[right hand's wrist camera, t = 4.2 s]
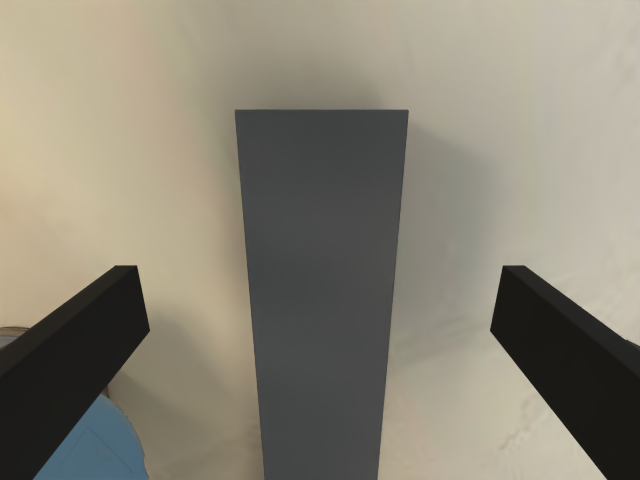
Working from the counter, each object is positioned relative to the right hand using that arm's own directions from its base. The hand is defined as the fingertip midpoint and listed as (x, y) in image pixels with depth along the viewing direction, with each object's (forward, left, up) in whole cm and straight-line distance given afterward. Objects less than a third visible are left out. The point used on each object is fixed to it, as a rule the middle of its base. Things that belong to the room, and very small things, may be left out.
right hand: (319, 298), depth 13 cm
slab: (+12, -20, -17) cm, 29 cm away
